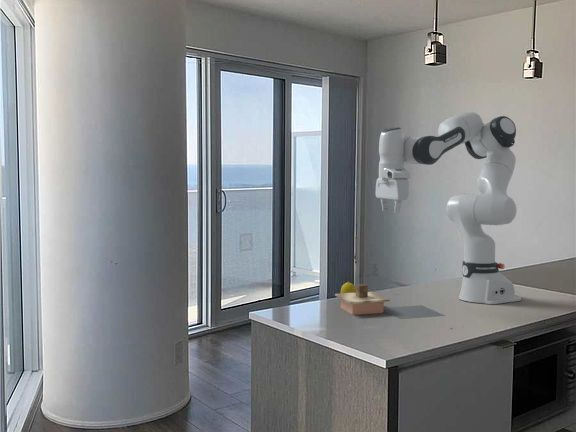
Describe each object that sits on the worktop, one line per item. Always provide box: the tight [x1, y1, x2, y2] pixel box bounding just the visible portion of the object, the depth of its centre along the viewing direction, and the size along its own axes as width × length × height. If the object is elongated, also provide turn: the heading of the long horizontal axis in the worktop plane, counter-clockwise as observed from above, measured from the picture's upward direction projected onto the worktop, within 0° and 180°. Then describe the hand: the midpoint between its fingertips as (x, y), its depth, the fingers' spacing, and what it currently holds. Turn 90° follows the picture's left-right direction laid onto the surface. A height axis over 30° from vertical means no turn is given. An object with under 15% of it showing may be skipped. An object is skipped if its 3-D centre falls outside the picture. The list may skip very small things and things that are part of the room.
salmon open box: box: [340, 299, 385, 316], centre depth 211 cm, size 11×11×5 cm
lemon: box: [340, 281, 356, 293], centre depth 226 cm, size 6×6×8 cm
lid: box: [334, 283, 390, 304], centre depth 211 cm, size 14×14×5 cm
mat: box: [383, 304, 446, 320], centre depth 209 cm, size 16×16×1 cm
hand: (390, 211), depth 225 cm, fingers open, 8 cm apart
